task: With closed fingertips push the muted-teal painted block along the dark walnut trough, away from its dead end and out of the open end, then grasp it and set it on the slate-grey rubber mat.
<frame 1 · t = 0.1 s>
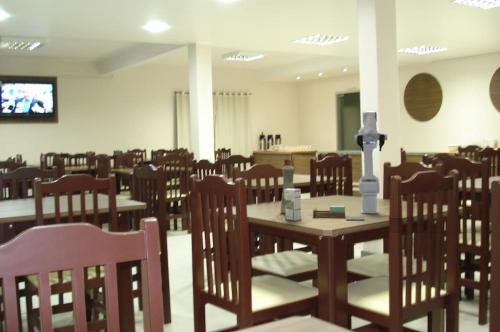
hand: (371, 149, 240), 32 cm above the table, tool tilted 50°, fingers open, 7 cm apart
mat: (355, 219, 249), on the table
syrup box: (293, 220, 251), on the table
trough: (329, 216, 259), on the table
bottle: (289, 213, 273), on the table
block: (337, 216, 258), on the table
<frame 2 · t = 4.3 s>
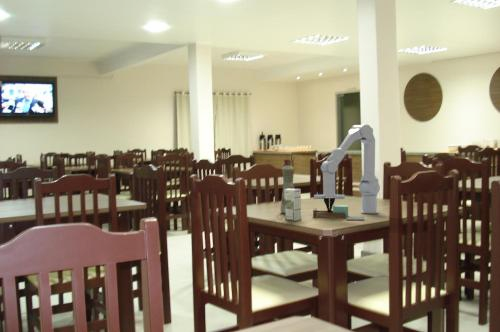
hand: (329, 214, 259), 1 cm above the table, tool pointing down, fingers closed
block: (340, 216, 258), on the table, touching gripper
everything else where it was.
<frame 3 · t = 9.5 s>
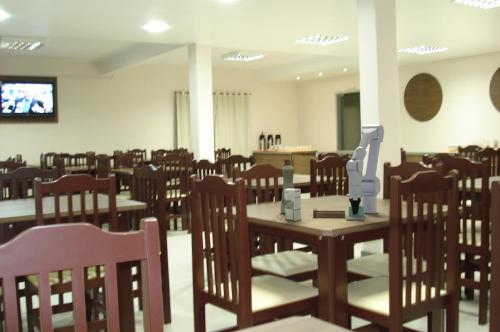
hand: (355, 213, 257), 1 cm above the table, tool pointing down, fingers closed on block, 4 cm apart
block: (356, 216, 257), on the table, touching gripper
everything else where it was.
when the fingers open (3 cm above the table, at t = 12.7 s): block stays where it is, resting on mat.
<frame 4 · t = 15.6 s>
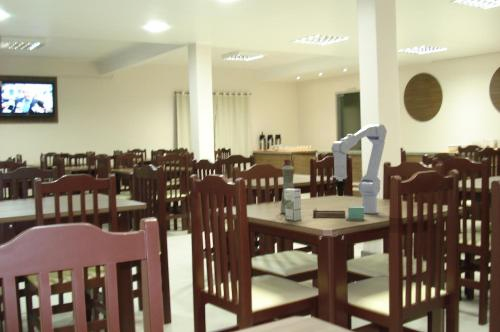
hand: (340, 194, 257), 10 cm above the table, tool pointing down, fingers open, 7 cm apart
block: (356, 217, 249), point 1 cm above the table, touching mat
everything else where it was.
at the end: block inside the target area on the mat (0.4 cm from its centre), point 0.6 cm above the mat's base; block tilted 0°; the gripper is holding nothing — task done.
